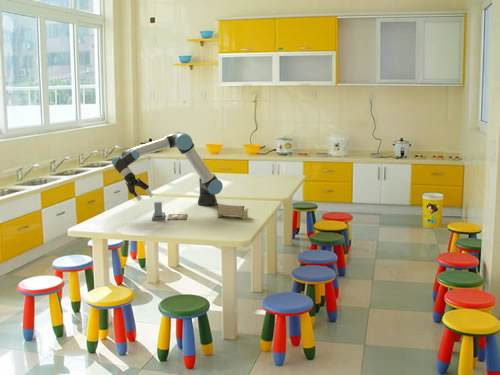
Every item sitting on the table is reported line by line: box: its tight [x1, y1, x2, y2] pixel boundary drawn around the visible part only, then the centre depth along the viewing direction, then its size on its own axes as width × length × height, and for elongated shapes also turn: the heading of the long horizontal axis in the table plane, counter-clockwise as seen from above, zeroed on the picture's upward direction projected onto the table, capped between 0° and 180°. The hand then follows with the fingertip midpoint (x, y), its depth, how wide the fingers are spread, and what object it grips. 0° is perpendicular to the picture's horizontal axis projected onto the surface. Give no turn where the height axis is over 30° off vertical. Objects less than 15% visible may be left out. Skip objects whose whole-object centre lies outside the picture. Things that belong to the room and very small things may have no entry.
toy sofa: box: [216, 203, 249, 221], centre depth 456 cm, size 21×9×10 cm, turn 72°
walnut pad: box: [166, 213, 188, 221], centre depth 456 cm, size 13×16×1 cm
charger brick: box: [153, 201, 163, 217], centre depth 451 cm, size 5×5×12 cm
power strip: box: [151, 211, 166, 222], centre depth 456 cm, size 18×8×4 cm, turn 4°
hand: (146, 198), depth 453 cm, fingers open, 13 cm apart
